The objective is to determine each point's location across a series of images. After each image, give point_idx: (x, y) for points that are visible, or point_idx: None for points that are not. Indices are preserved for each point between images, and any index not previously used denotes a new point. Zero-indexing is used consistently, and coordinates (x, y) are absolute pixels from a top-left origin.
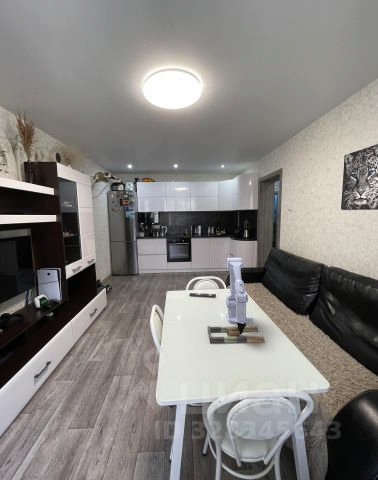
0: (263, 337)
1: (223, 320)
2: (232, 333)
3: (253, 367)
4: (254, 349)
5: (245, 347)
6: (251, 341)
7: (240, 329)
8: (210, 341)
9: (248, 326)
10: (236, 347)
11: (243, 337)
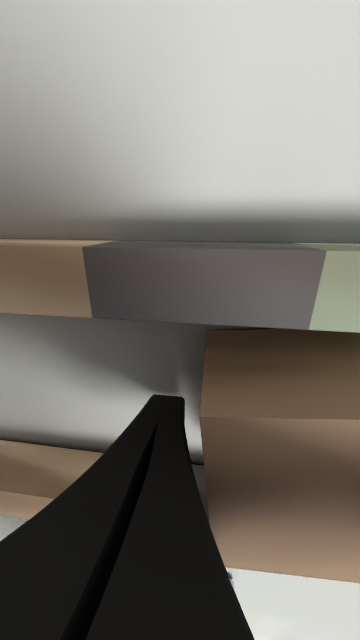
0: None
1: (269, 610)
2: None
3: None
4: (19, 12)
5: (173, 87)
6: (41, 240)
7: (163, 483)
8: None
9: (33, 515)
10: (356, 82)
11: (151, 280)
